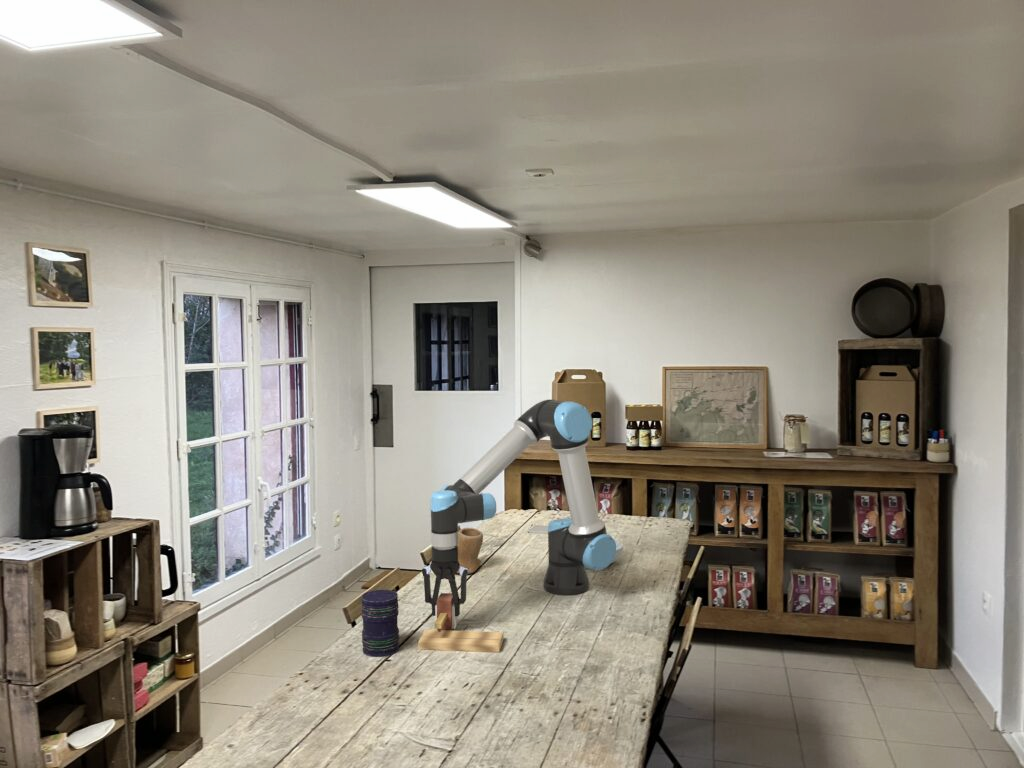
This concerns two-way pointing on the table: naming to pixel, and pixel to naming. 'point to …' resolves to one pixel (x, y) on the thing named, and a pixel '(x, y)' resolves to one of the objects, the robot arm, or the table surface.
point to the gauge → (444, 612)
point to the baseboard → (539, 529)
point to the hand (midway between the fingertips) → (446, 626)
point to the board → (461, 641)
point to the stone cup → (469, 548)
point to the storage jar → (380, 623)
